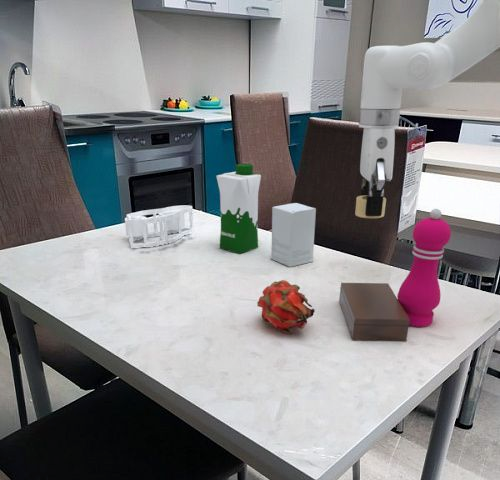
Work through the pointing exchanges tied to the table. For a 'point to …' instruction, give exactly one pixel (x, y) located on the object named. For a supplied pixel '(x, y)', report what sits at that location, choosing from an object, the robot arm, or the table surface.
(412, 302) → the pepper mill
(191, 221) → the clear plastic caddy
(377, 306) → the case
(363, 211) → the tape
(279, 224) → the white packaging box
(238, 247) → the milk carton
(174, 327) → the table surface
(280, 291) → the dragon fruit
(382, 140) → the robot arm
